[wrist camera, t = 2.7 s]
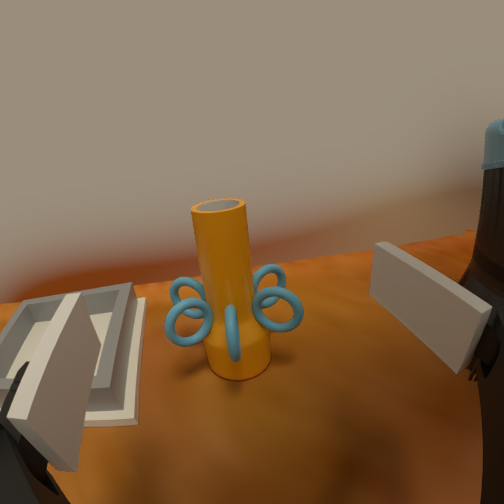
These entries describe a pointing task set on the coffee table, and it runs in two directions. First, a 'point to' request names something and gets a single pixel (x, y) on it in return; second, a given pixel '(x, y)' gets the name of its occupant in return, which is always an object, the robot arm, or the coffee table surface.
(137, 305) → the holder tray
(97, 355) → the robot arm
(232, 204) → the orange tube
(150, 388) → the coffee table surface
